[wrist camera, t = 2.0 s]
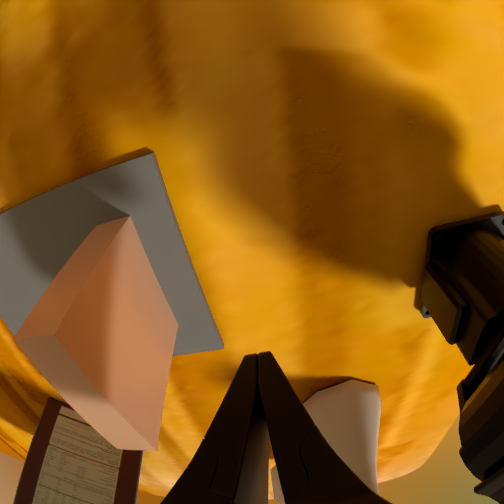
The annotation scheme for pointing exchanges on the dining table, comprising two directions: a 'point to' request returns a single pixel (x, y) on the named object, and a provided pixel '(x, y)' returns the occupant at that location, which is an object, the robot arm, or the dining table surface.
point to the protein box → (75, 463)
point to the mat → (80, 226)
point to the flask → (350, 425)
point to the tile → (106, 337)
